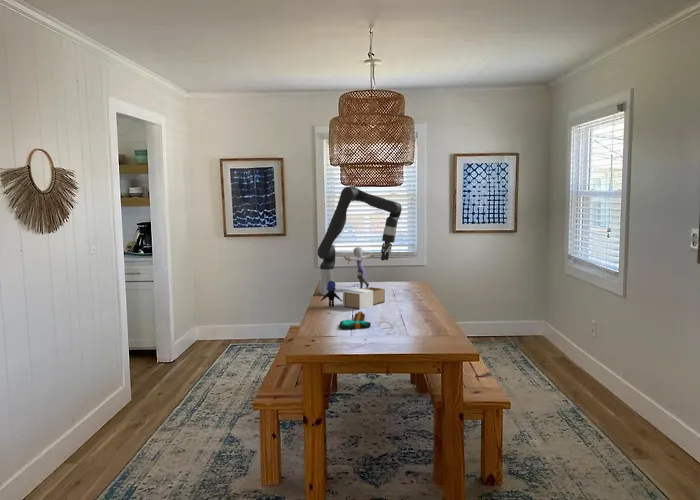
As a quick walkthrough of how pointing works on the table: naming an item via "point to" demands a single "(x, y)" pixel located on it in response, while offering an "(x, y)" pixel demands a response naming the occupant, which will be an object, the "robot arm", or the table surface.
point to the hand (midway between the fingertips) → (384, 260)
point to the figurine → (361, 270)
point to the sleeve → (361, 297)
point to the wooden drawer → (353, 299)
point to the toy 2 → (355, 322)
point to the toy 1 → (331, 293)
